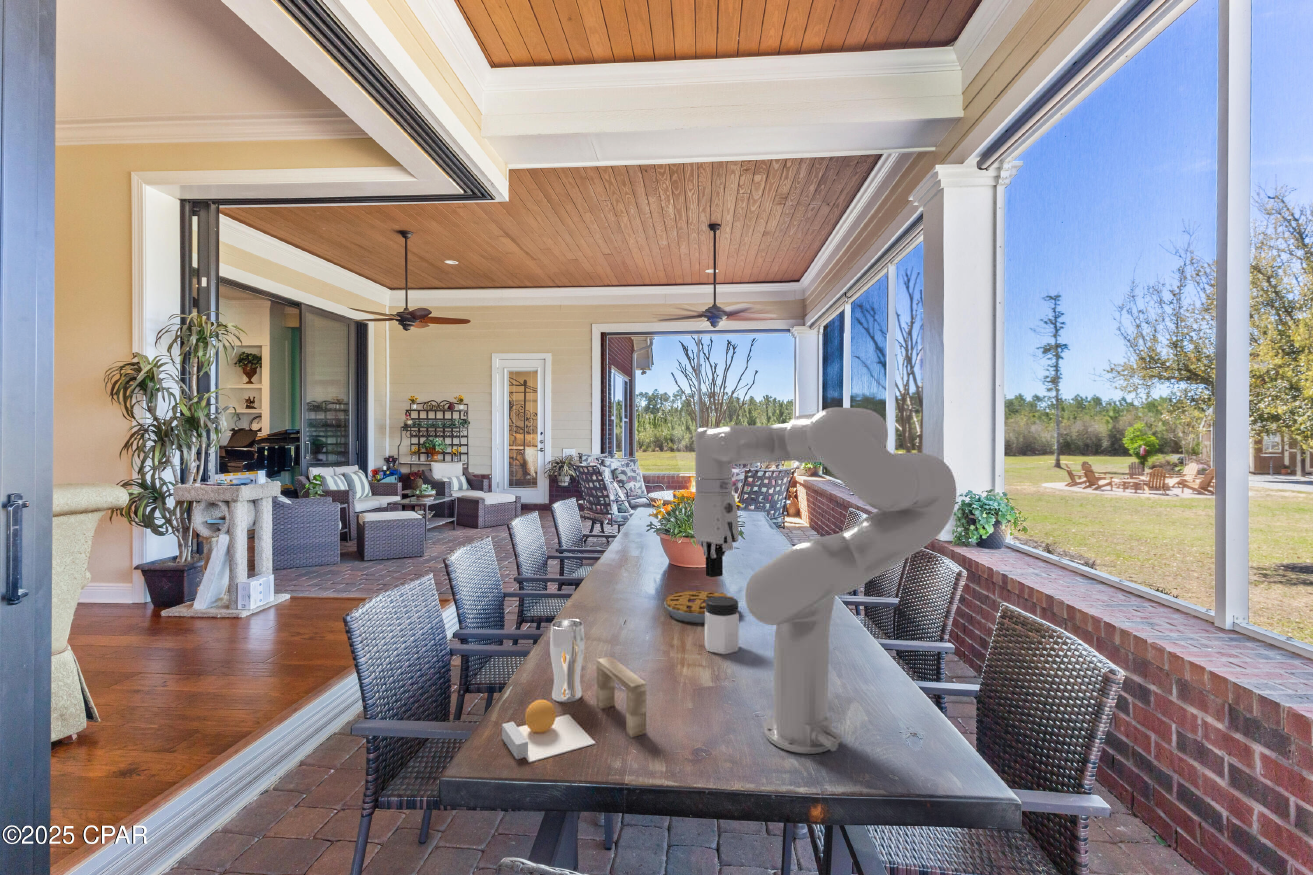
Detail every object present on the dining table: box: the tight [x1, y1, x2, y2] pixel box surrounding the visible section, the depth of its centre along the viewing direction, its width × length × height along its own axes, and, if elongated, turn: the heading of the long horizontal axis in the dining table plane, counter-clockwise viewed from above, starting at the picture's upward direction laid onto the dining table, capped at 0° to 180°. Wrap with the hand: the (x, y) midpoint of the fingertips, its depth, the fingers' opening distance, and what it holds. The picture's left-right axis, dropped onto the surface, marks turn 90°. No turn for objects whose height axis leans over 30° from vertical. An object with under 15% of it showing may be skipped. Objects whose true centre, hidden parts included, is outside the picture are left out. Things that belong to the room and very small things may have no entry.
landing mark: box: [517, 714, 596, 764], centre depth 109 cm, size 12×12×1 cm
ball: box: [524, 699, 557, 733], centre depth 111 cm, size 6×6×6 cm
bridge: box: [596, 656, 647, 739], centre depth 116 cm, size 3×14×9 cm, turn 31°
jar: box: [704, 596, 740, 655], centre depth 154 cm, size 9×8×12 cm
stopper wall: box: [501, 721, 528, 760], centre depth 106 cm, size 8×2×2 cm, turn 31°
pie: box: [663, 589, 734, 624], centre depth 182 cm, size 22×22×5 cm
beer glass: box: [549, 618, 585, 703], centre depth 126 cm, size 7×7×15 cm
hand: (714, 575), depth 126 cm, fingers closed
